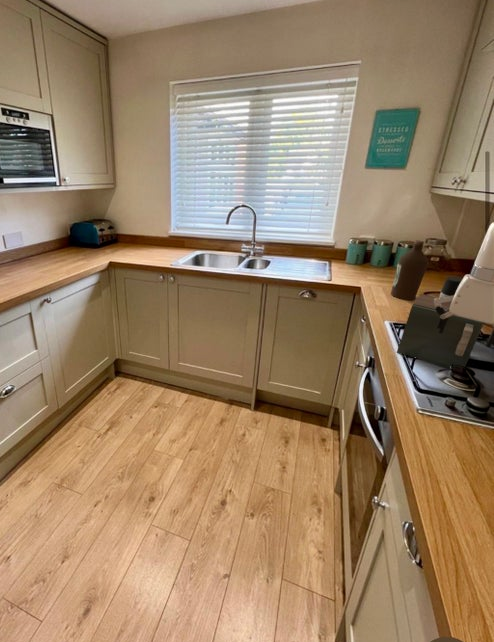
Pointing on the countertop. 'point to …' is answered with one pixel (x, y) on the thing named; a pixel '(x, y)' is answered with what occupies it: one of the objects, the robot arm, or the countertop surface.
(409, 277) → the olive oil
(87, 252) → the countertop surface
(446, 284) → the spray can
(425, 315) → the door
